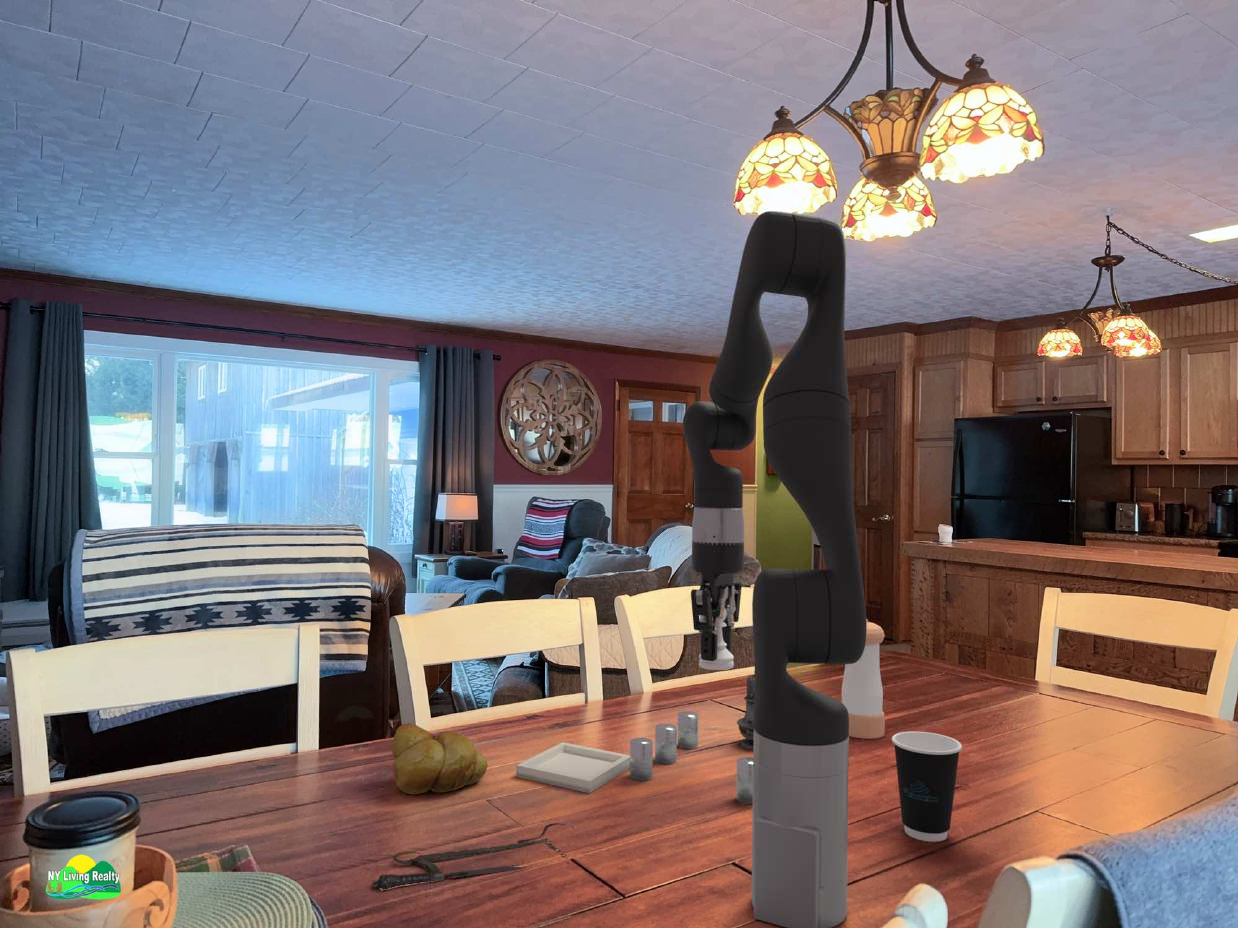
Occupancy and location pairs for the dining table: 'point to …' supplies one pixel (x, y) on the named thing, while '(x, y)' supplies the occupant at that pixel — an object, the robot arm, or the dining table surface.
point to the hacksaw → (435, 873)
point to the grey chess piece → (748, 717)
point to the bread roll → (434, 760)
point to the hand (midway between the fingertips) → (716, 656)
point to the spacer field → (686, 740)
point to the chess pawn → (719, 651)
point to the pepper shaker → (865, 689)
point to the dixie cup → (926, 782)
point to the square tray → (574, 767)
